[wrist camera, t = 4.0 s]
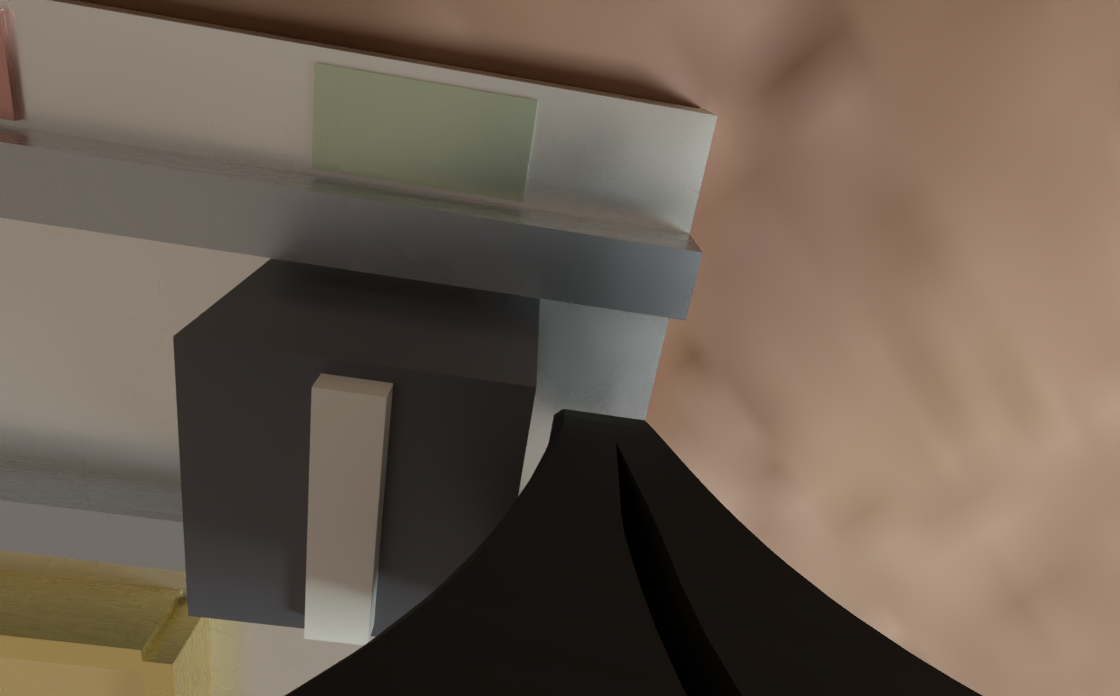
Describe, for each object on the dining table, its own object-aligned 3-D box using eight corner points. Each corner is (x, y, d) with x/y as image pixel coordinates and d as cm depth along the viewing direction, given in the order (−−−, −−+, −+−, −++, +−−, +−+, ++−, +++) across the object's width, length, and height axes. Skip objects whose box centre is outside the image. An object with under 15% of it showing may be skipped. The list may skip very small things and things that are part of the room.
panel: (703, 109, 11) (742, 127, 9) (531, 855, 18) (528, 970, 16) (-289, -63, 10) (-529, -91, 8) (-59, 802, 17) (-150, 917, 15)
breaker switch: (540, 298, 11) (535, 401, 8) (505, 514, 12) (490, 670, 9) (271, 258, 11) (157, 348, 8) (270, 484, 12) (175, 636, 9)
